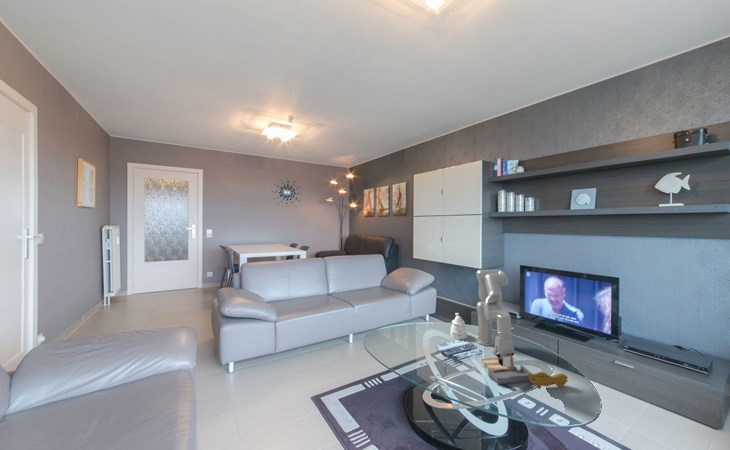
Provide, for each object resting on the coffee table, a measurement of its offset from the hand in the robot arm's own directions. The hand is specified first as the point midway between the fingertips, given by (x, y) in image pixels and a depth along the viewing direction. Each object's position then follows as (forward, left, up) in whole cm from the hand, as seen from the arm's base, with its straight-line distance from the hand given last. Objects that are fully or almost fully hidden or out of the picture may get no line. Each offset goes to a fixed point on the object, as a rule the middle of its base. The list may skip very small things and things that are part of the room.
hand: (504, 364), depth 175 cm
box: (0, +4, -9) cm, 10 cm away
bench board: (-13, +4, -9) cm, 17 cm away
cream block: (0, 0, -1) cm, 1 cm away
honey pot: (-60, -2, -9) cm, 61 cm away
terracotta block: (-10, +8, -7) cm, 15 cm away
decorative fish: (+12, +19, -9) cm, 24 cm away
